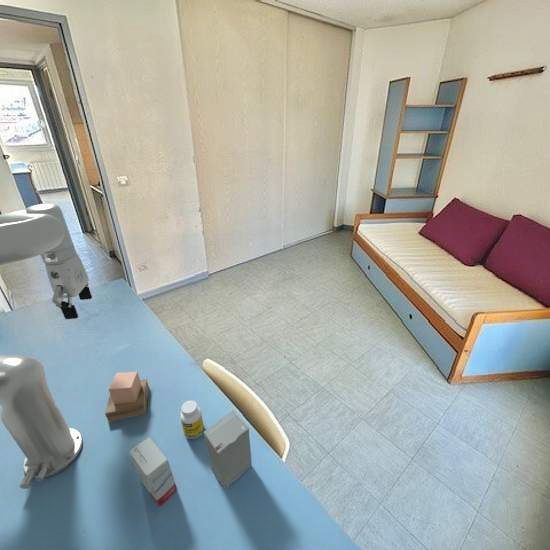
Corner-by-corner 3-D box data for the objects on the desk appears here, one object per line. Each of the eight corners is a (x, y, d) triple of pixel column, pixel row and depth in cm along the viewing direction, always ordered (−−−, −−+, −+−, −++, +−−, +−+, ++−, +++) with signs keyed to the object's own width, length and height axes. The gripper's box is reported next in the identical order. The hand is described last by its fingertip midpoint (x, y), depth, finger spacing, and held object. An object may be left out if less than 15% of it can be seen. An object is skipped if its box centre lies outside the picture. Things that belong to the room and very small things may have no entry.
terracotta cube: (135, 402, 88) (130, 387, 85) (114, 404, 87) (108, 389, 84) (141, 385, 93) (137, 371, 90) (121, 387, 92) (116, 373, 90)
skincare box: (237, 447, 79) (232, 406, 72) (254, 468, 74) (251, 427, 67) (209, 470, 74) (200, 428, 67) (225, 494, 69) (218, 452, 62)
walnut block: (146, 414, 89) (143, 405, 87) (108, 422, 86) (105, 413, 84) (149, 388, 97) (146, 379, 95) (115, 395, 95) (111, 386, 93)
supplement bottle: (184, 442, 81) (178, 417, 76) (183, 424, 85) (178, 400, 80) (204, 436, 82) (200, 412, 77) (203, 419, 86) (199, 395, 82)
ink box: (178, 490, 70) (169, 459, 65) (158, 508, 67) (147, 478, 62) (159, 465, 75) (149, 435, 70) (140, 480, 72) (128, 450, 67)
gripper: (58, 266, 71) (81, 325, 79) (87, 239, 86) (104, 291, 94) (23, 269, 70) (50, 328, 78) (58, 241, 85) (78, 293, 93)
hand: (79, 308), depth 86 cm, fingers open, 9 cm apart
